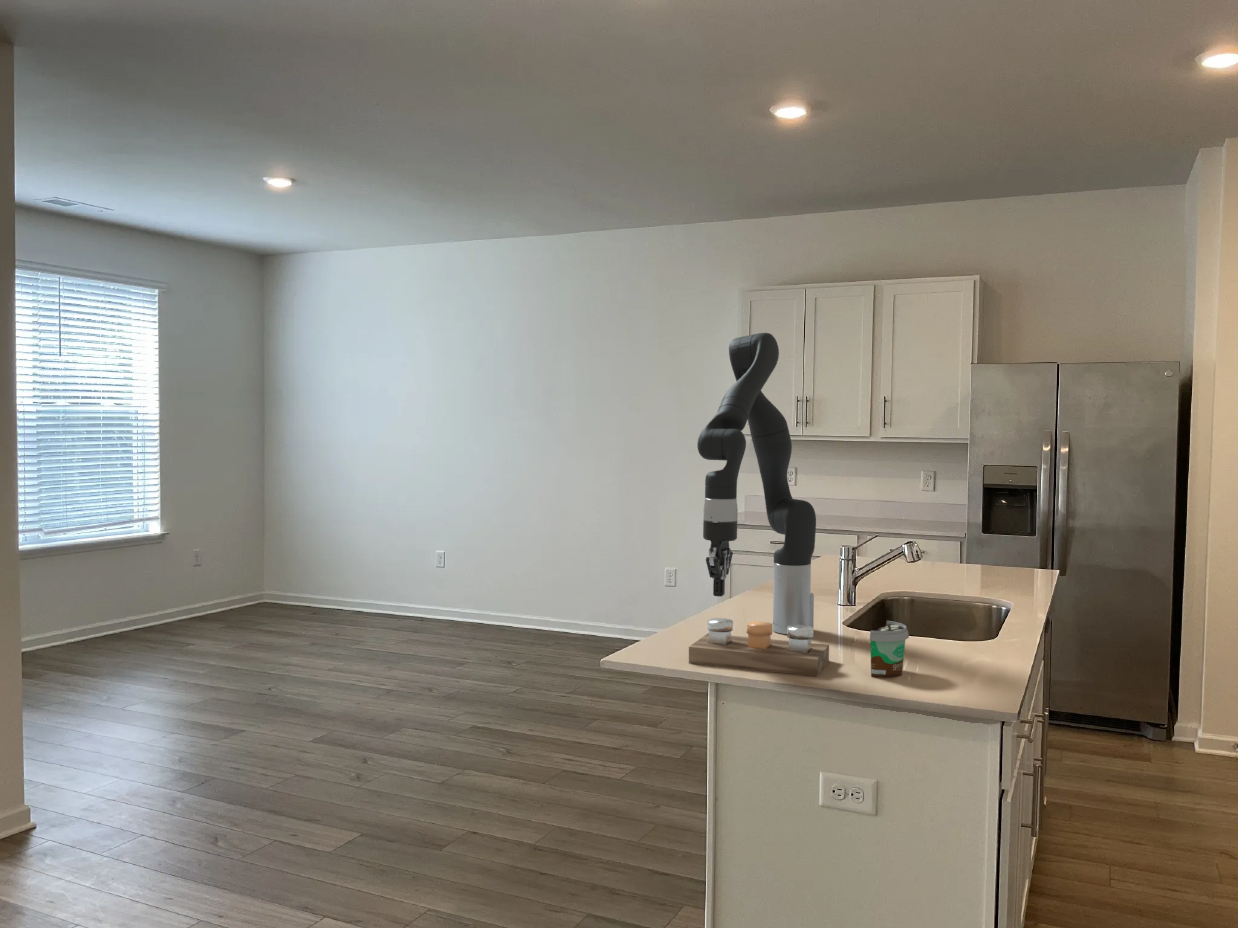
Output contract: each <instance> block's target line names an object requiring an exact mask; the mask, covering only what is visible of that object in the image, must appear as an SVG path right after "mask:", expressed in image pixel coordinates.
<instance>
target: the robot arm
mask: <svg viewBox="0 0 1238 928" xmlns="http://www.w3.org/2000/svg"><path fill="white" fill-rule="evenodd" d="M728 356H729V361H730V365H731V369H732V372H733V375H734V378H735V380H736V381H735V382H734V383H733V384H732V385H731V386H730V388H728V390H727V391H726V393H725V394H724V395H723V398H722V400H721V402H720V404H719V407H718V410H717V413H716V414H715V415H714V416H712V418H711V419H710V421H708V422H707V424H706V425H705V426H704V428H703V429H702V430H701V432H700V434H699V437H698V439H697V451H698V453H699V455H700V457H701V458H703V459H704V460H708V461H726V462H725V466H724V467H723V468H722V469H718V470H713V471H709V472H707V473H706V475H705V480H704V482H705V483H704V486H705V488H704V494H705V495H704V503H703V504H704V505H703V519H702V520H703V523H702V525H703V527H702V538H703V540H705V541H709V542H710V546H709V548H708V556H706V558H705V563H706V567H707V570H708V575H709V578H711V579H712V580H713V582H712V583H713V584H712V585H713V586H712V588H713V589H712V590H713V591H712V592H713V593H712V595H713V596H714V597H723V596H725V593H726V592H725V590H726V589H725V588H726V584H725V583H726V582H725V581H726V578H727V576H728V575H729V573H730V568H731V563H732V558H733V554H734V553H733V551H731V548H730V542H734V541H736V540H737V539H738V511H739V510H738V502H737V501H738V500H737V497H738V496H737V493H738V492H737V491H738V487H737V486H738V477H739V472H740V469H741V466H742V465H741V464H742V462H743V458H744V456H745V453H746V448H747V440H746V436H745V434H744V433H743V430H744V429H745V428H746V425H747V423H748V426H749V433H750V436H751V441H752V444H753V449H754V453H755V456H756V460H757V464H758V469H759V473H760V478H761V482H762V489H763V494H764V502H765V509H766V517H767V521H768V523H769V526H770V527H771V529H772V530H773V531H774V532H775V533H777V534H779V535H784V544H783V546H782V547H781V548H779V549H777V550H775V551H774V553H773V572H772V573H773V586H772V587H773V591H772V595H773V596H772V599H773V600H772V632H775V633H778V634H783V635H787V627H788V626H790V625H806V626H811V627H813V628H814V626H815V624H814V623H815V621H814V620H815V619H814V617H815V614H814V613H815V610H814V608H815V595H814V593H812V592H811V590H812V588H811V585H812V584H811V583H812V580H811V579H812V576H811V575H812V557H813V555H814V552H815V548H816V547H815V544H816V530H817V515H816V511H815V508H814V506H813V505H812V504H811V503H810V502H809V501H806V500H803V499H796V498H793V496H792V494H791V490H790V487H789V486H790V485H789V482H788V481H789V480H788V471H789V470H788V469H789V466H790V462H791V461H790V460H791V457H792V452H793V451H792V449H793V445H792V439H791V433H790V430H789V426H788V422H787V419H786V418H785V416H784V414H782V412H781V411H780V410H779V409H778V408H777V407H776V405H774V404H773V403H772V401H770V400H769V398H767V396H766V395H765V394H764V393H763V391H762V390H763V388H764V386H765V384H766V383H767V382H768V380H769V378H770V377H771V376H772V374H773V371H774V370H775V369H776V366H777V365H778V361H779V357H780V351H779V346H778V342H777V340H776V338H775V337H774V335H773V334H772V333H769V332H759V333H754V334H749V335H744V336H739V337H736V338H735V337H734V338H732V339H731V341H730V342H729V346H728Z"/></svg>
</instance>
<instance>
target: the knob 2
mask: <svg viewBox="0 0 1238 928" xmlns="http://www.w3.org/2000/svg"><path fill="white" fill-rule="evenodd" d="M786 637H787V638H788V641H789V651H792V652H803V653H808V652H809V651H810V650H811V643H812V640H813V639H814V628H813V627H811V626H806V625H790V626H788V627H787V634H786Z"/></svg>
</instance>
